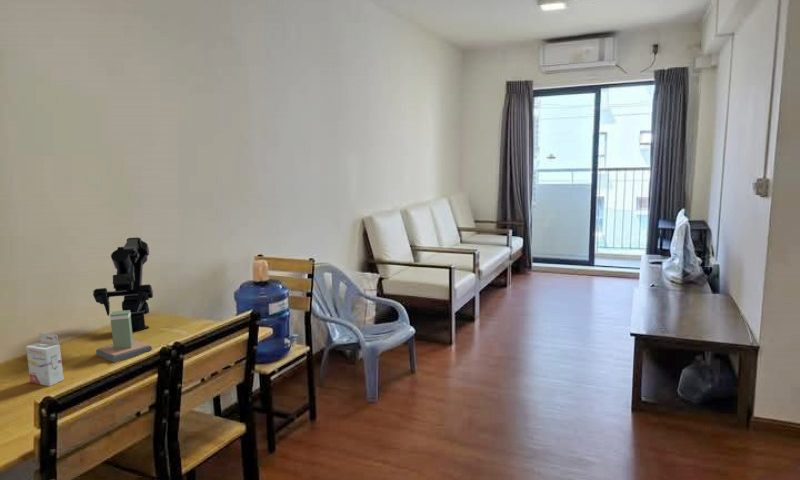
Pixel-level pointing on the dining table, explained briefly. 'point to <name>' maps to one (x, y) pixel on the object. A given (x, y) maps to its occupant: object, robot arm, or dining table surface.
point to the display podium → (123, 351)
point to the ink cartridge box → (45, 361)
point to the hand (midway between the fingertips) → (122, 313)
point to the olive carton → (121, 329)
